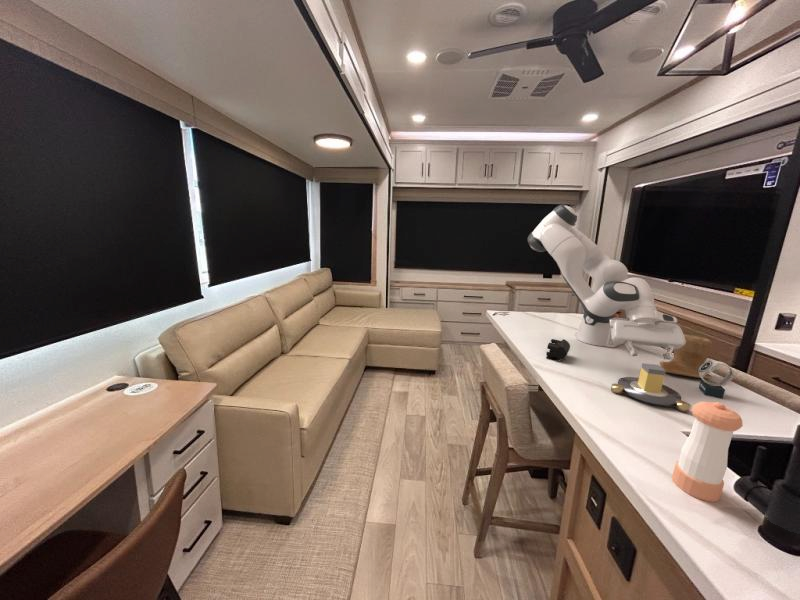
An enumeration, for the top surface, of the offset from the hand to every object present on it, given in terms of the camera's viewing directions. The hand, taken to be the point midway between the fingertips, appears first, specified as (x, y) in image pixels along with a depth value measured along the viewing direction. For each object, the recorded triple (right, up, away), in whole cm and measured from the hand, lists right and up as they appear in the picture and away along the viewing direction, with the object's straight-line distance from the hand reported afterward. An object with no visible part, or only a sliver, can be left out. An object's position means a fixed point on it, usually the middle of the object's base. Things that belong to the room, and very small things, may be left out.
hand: (651, 357), depth 101 cm
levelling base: (-2, -12, -2) cm, 13 cm away
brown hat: (+24, -9, +16) cm, 30 cm away
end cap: (-17, -5, +27) cm, 32 cm away
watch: (+21, -12, +2) cm, 24 cm away
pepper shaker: (-21, -20, -37) cm, 47 cm away
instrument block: (-2, -10, -1) cm, 10 cm away
